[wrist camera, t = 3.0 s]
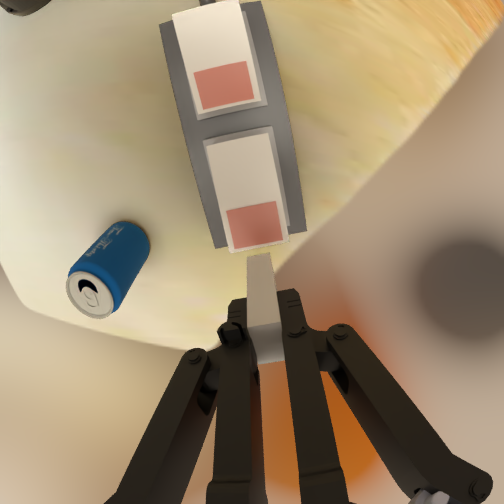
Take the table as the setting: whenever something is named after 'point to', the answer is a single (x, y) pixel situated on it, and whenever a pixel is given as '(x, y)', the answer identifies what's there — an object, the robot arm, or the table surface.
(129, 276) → the beverage can
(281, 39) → the table surface
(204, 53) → the rocker
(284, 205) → the power strip
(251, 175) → the rocker
